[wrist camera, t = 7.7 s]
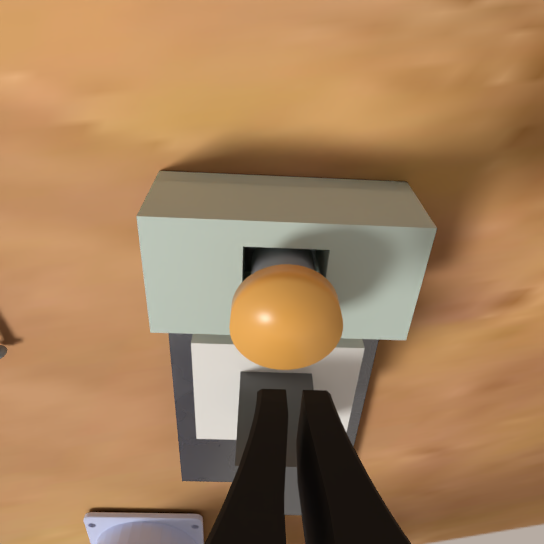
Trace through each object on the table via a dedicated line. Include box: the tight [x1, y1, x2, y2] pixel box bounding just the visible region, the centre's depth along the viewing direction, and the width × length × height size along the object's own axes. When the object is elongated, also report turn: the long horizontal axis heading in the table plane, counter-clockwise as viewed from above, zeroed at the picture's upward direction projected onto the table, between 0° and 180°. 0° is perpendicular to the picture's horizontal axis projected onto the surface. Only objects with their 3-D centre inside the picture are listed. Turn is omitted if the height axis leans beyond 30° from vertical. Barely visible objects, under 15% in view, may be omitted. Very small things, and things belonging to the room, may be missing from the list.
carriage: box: [191, 334, 365, 515], centre depth 19 cm, size 6×7×6 cm
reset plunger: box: [229, 247, 343, 370], centre depth 17 cm, size 4×4×4 cm
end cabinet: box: [137, 171, 437, 340], centre depth 19 cm, size 5×10×4 cm, turn 87°
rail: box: [169, 181, 407, 482], centre depth 23 cm, size 20×10×2 cm, turn 177°
